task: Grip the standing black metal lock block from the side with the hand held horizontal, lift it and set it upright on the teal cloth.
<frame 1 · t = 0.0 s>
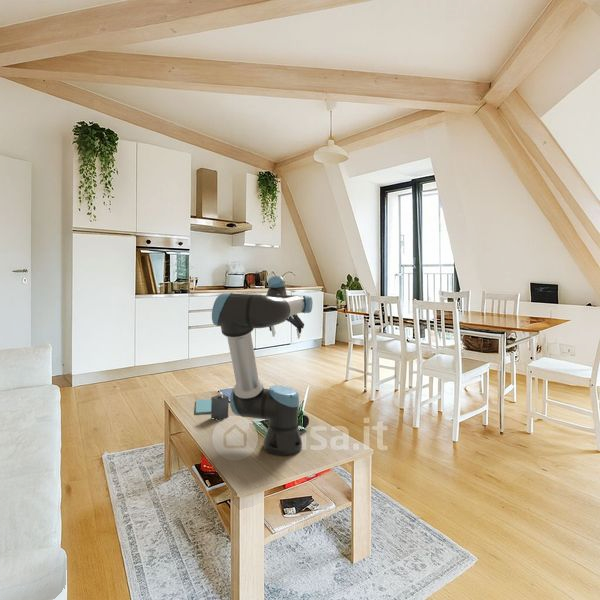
hand: (286, 335, 194), 36 cm above the table, tool tilted 35°, fingers open, 13 cm apart
lock block: (219, 417, 174), on the table
teal cloth: (208, 407, 187), on the table
end cap: (296, 427, 166), on the table
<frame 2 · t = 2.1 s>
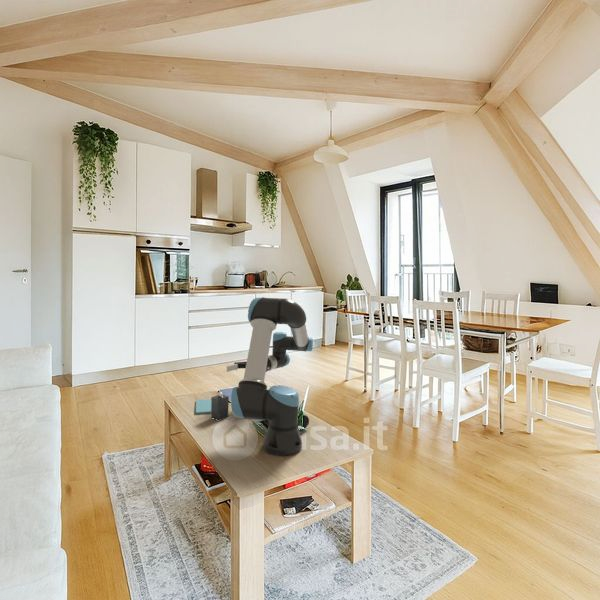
hand: (236, 371, 180), 20 cm above the table, tool horizontal, fingers open, 13 cm apart
nothing on the table moved.
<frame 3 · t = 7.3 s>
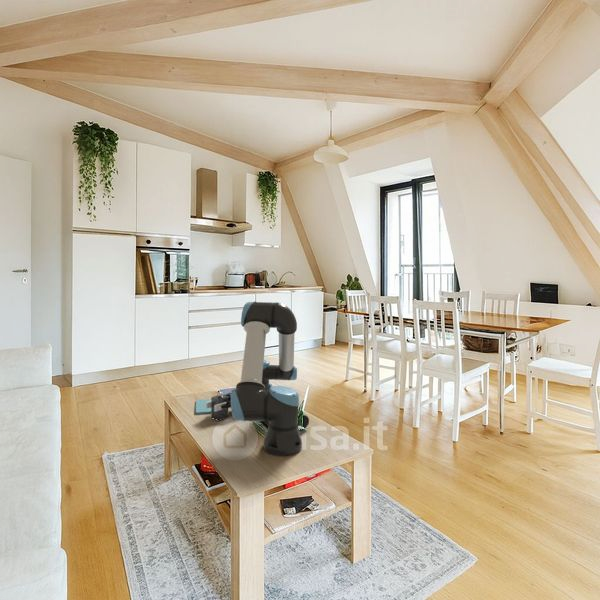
hand: (210, 407, 169), 7 cm above the table, tool horizontal, fingers closed on lock block, 5 cm apart
lock block: (219, 417, 174), on the table, touching gripper
everything else where it was.
when the fingers open (9 cm above the table, at t = 12.7 s): lock block drops 1 cm, resting on teal cloth.
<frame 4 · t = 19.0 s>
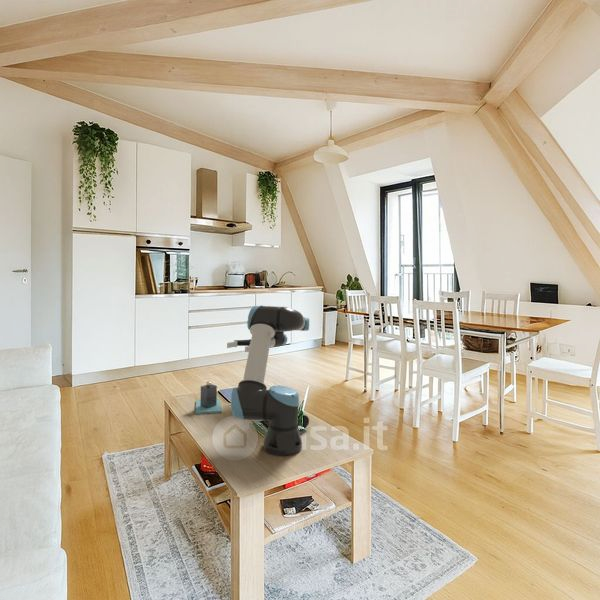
hand: (236, 347, 189), 30 cm above the table, tool horizontal, fingers open, 13 cm apart
lock block: (208, 405, 186), point 1 cm above the table, touching teal cloth
everything else where it was.
at the end: lock block inside the target area on the teal cloth (1.0 cm from its centre), point 1.0 cm above the teal cloth's base; lock block tilted 0°; the gripper is holding nothing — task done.
